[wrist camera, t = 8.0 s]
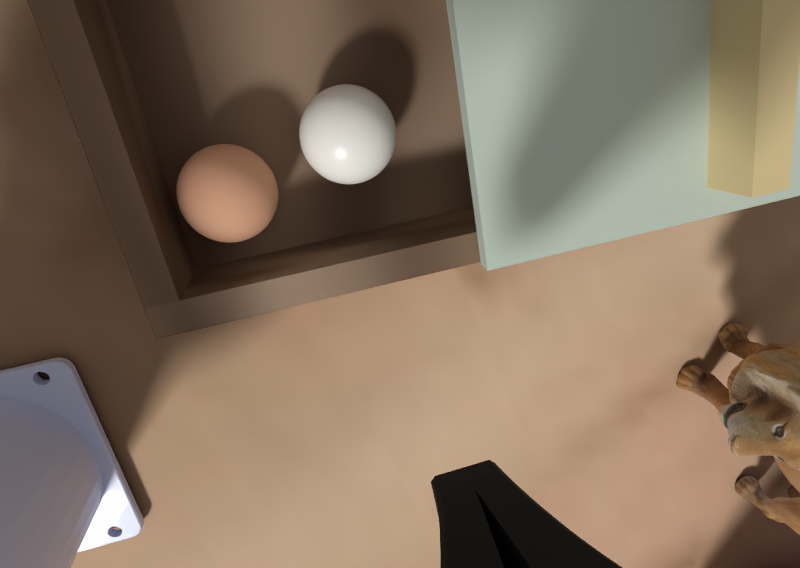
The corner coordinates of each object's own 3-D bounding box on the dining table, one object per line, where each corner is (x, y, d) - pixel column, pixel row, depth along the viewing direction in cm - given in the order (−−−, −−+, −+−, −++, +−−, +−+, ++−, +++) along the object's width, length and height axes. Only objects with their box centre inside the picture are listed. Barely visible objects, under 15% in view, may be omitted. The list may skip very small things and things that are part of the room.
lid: (481, 265, 17) (509, 290, 15) (419, -207, 13) (445, -269, 11) (916, 161, 19) (998, 170, 17) (987, -282, 15) (1110, -348, 13)
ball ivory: (310, 185, 19) (314, 201, 16) (288, 94, 18) (288, 94, 15) (394, 167, 19) (413, 180, 16) (378, 76, 18) (394, 74, 15)
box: (177, 298, 19) (156, 338, 16) (38, -93, 15) (-27, -142, 12) (593, 203, 21) (646, 222, 18) (573, -171, 17) (638, -230, 14)
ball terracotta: (201, 238, 19) (186, 264, 16) (173, 150, 18) (151, 161, 15) (288, 219, 19) (288, 241, 16) (265, 131, 18) (261, 138, 15)
